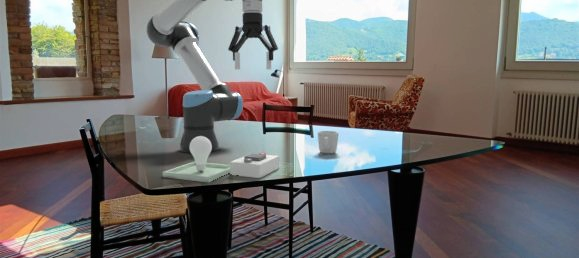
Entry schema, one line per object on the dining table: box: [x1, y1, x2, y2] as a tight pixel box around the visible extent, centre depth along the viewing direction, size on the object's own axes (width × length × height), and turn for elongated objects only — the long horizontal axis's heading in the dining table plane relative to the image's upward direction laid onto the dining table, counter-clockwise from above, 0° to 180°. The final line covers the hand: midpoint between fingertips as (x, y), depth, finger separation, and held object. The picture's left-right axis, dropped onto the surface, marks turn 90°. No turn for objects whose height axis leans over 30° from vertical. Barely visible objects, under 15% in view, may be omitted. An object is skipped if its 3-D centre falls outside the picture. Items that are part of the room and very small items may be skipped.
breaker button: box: [243, 153, 267, 161], centre depth 131 cm, size 5×5×4 cm
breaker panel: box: [229, 152, 280, 179], centre depth 131 cm, size 10×14×5 cm
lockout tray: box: [162, 161, 230, 183], centre depth 128 cm, size 16×16×2 cm
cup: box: [317, 130, 339, 155], centre depth 160 cm, size 11×8×8 cm
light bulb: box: [189, 136, 212, 172], centre depth 128 cm, size 7×7×11 cm
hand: (252, 69), depth 163 cm, fingers open, 13 cm apart
